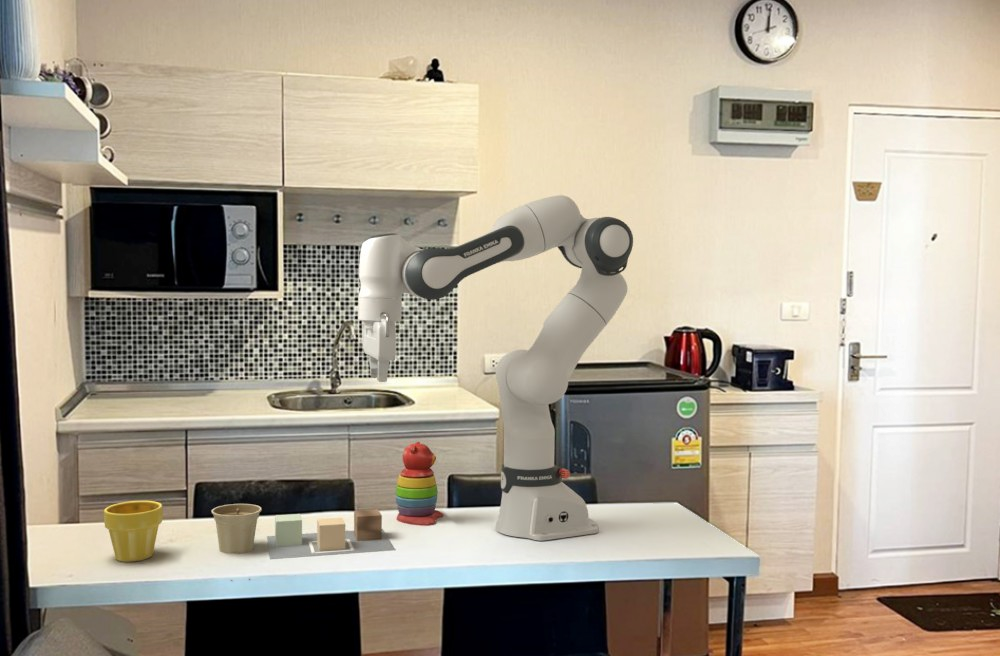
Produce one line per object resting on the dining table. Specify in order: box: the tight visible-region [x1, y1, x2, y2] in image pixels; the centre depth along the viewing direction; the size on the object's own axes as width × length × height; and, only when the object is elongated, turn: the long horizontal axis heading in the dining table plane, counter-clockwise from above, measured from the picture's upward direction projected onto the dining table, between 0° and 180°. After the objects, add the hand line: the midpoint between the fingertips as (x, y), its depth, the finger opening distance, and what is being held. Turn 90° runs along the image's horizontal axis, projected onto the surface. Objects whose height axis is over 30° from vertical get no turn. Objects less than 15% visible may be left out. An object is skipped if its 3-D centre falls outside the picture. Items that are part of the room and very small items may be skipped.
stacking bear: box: [395, 441, 444, 527], centre depth 198 cm, size 11×10×18 cm
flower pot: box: [211, 503, 263, 555], centre depth 174 cm, size 9×9×9 cm
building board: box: [266, 517, 396, 560], centre depth 179 cm, size 24×16×6 cm, turn 107°
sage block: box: [274, 513, 303, 547], centre depth 179 cm, size 5×5×5 cm
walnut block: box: [353, 508, 383, 541], centre depth 183 cm, size 5×5×5 cm
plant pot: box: [103, 500, 163, 563], centre depth 170 cm, size 10×10×10 cm
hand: (378, 379), depth 183 cm, fingers open, 8 cm apart
